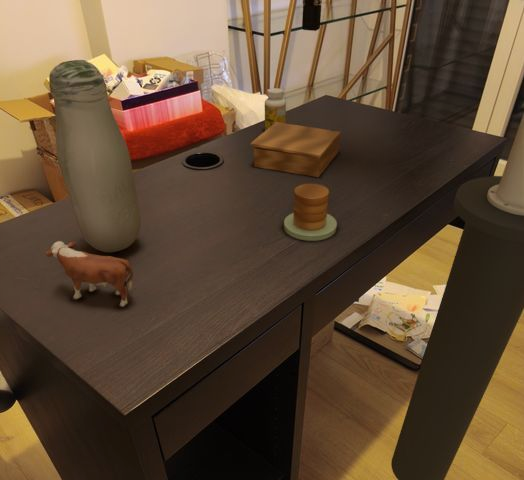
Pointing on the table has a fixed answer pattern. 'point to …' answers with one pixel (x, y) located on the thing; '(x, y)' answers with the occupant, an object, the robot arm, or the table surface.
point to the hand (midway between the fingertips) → (310, 29)
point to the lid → (296, 139)
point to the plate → (310, 234)
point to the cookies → (310, 206)
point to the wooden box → (295, 160)
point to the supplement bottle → (274, 107)
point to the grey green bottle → (94, 157)
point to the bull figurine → (93, 269)
